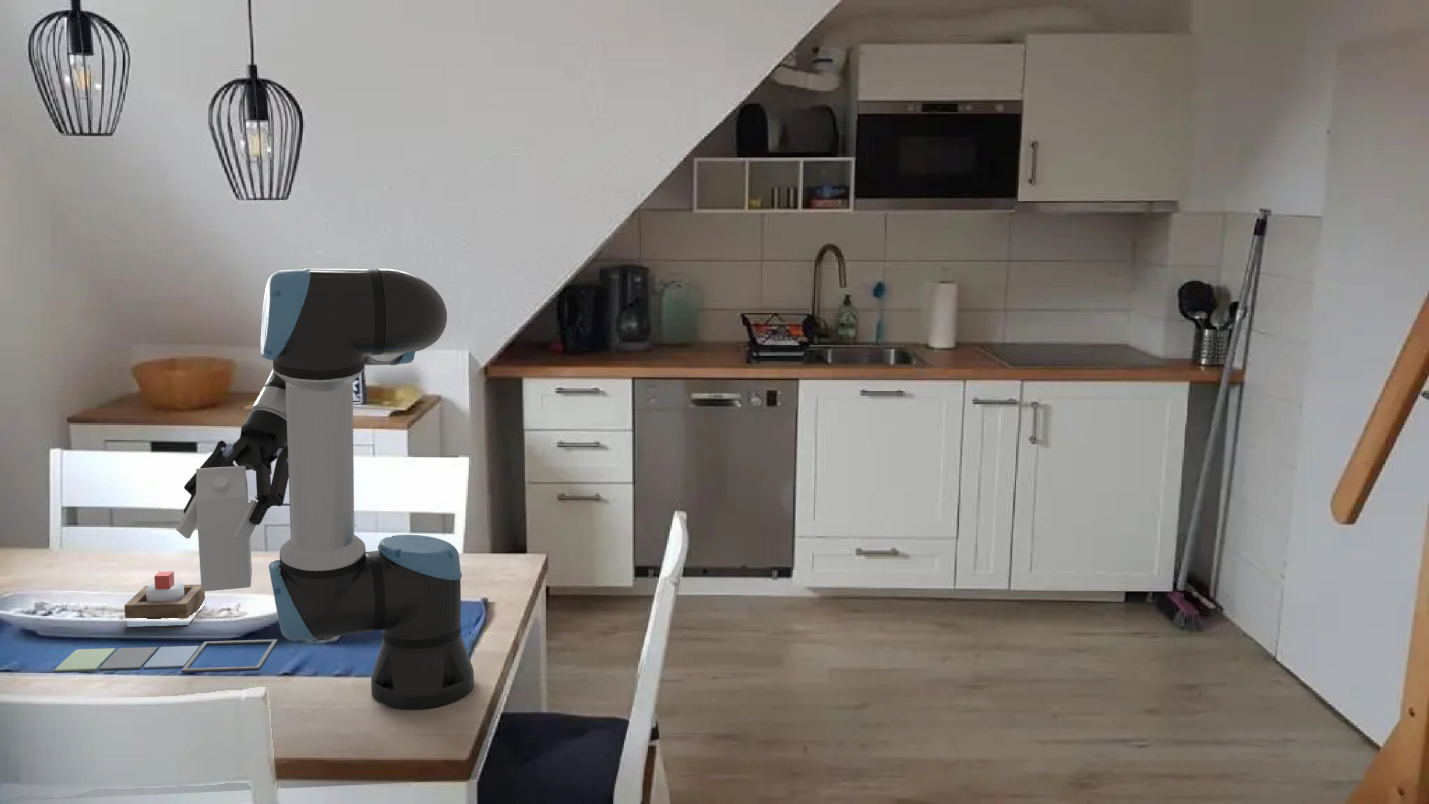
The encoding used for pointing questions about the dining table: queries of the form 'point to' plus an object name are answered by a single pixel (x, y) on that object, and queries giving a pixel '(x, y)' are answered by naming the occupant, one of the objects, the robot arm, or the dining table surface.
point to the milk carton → (222, 528)
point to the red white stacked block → (165, 588)
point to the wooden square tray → (165, 605)
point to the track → (139, 657)
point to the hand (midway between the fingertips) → (210, 537)
